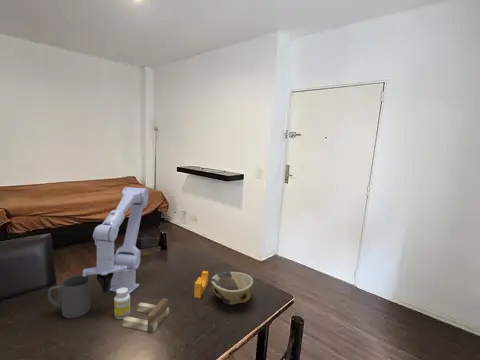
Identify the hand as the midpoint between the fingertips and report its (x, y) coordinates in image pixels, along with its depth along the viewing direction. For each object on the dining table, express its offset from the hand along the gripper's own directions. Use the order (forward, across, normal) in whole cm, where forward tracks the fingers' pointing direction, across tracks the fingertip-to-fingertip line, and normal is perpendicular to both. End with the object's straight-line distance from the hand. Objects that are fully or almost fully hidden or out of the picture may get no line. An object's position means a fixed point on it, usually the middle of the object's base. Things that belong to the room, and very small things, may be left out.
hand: (105, 291), depth 102 cm
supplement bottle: (+8, +6, -4) cm, 11 cm away
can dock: (+8, +15, -9) cm, 19 cm away
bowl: (+8, +48, -4) cm, 49 cm away
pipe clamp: (+8, +37, +7) cm, 38 cm away
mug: (+8, -12, +3) cm, 15 cm away
